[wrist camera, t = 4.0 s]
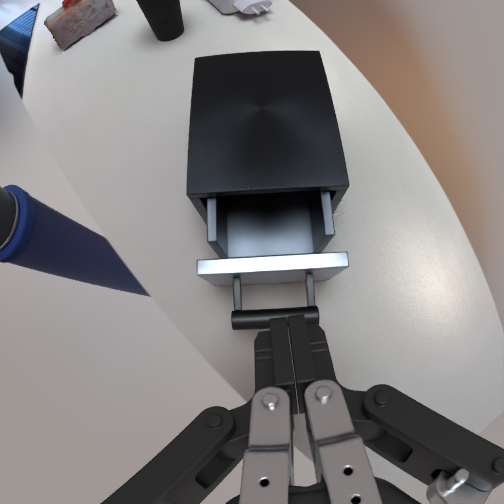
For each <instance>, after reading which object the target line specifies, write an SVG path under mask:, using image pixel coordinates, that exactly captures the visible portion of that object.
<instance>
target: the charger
mask: <svg viewBox="0 0 504 504" xmlns="http://www.w3.org/2000/svg"><path fill="white" fill-rule="evenodd" d="M209 1H210V2H211V3H212V4H213V5H214V6H215V7H217V8H218V9H219V10H220V11H221V12H222V13H225V14H227V13H234V12H237V11H241V12H242V13H244V14H254V13H256V14H260V12H261V11H264V10H265V11H267V12H269V9H267V8H268V7H270V6H271V4H272V3H271V2H270V1H268V0H209Z"/></svg>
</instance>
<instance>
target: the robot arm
mask: <svg viewBox="0 0 504 504" xmlns="http://www.w3.org/2000/svg"><path fill="white" fill-rule="evenodd" d="M19 219H20V203H19V200H18V198H17V196H16V195H15V194H14V193H12V192H10V191H7V190H5V189H4V188H2V187H0V251H1V250H3V249H4V248H5V247H7V246H8V244H9V243H10V242H11V240H12V239H13V237H14V235H15V233H16V230H17V227H18V224H19ZM287 317H288V326H289V335H290V342H289V335H288V327H287V320H286V317H278V318H271V319H270V331H263V332H259V333H258V335H257V337H256V339H255V341H254V351H255V393H254V395H253V397H252V398H251V400H250V401H249V402H247V403H246V404H244V405H243V406H240V407H237V408H235V409H232V410H227V409H226V408H224V407H219V406H214V407H210V408H207V409H205V410H204V411H202V412H201V413H200V414H199V415H198V416H197V417H196V418H195V419H194V420H193V421H192V422H191V423H190V424H189V425H188V426H187V427H186V428H185V429H184V430H183V431H182V432H181V433H180V434H179V435H178V436H177V437H176V438H174V439H173V440H172V441H171V442H170V443H169V444H168V445H167V446H166V447H165V448H164V449H163V450H162V451H161V452H159V453H158V454H157V456H155V457H154V458H153V459H152V460H151V461H150V462H149V463H147V464H146V465H145V466H144V467H143V468H142V469H141V470H140V471H138V472H137V473H136V474H135V475H134V476H133V477H132V478H130V479H129V480H128V481H127V482H126V483H125V484H123V485H122V486H121V487H120V488H119V489H118V490H116V491H115V492H114V493H113V494H112V495H110V496H109V497H108V498H107V499H106V500H104V501H103V502H102V503H101V504H200V503H201V502H202V501H203V500H204V499H205V498H206V497H207V496H208V495H209V494H210V493H211V492H212V491H213V490H214V489H215V488H216V486H218V485H219V483H221V481H222V480H223V479H224V478H225V477H226V476H227V475H228V474H229V473H230V472H231V471H232V470H233V469H234V467H235V466H236V465H237V464H238V463H239V462H240V461H241V460H242V459H243V468H242V479H241V489H240V495H238V496H236V497H234V498H232V499H231V500H229V501H228V502H227V503H226V504H421V503H419V502H418V501H416V500H415V499H413V498H411V497H410V496H409V495H407V494H406V493H404V492H403V491H402V490H400V489H399V488H397V487H396V486H394V485H393V484H391V483H390V482H388V481H386V480H383V479H381V478H377V477H374V475H373V472H372V468H371V465H370V462H369V459H368V456H367V453H366V450H365V446H367V447H368V448H370V449H371V450H373V451H374V452H376V453H377V454H379V455H380V456H382V457H383V458H385V459H386V460H388V461H389V462H391V463H392V464H394V465H395V466H397V467H399V468H400V469H402V470H403V471H405V472H406V473H408V474H410V475H411V476H413V477H414V478H416V479H418V480H420V481H421V482H423V483H425V484H426V485H428V488H427V493H426V495H427V499H428V501H429V502H430V503H431V504H484V503H485V501H486V500H487V498H488V496H489V495H490V493H491V491H492V490H493V489H494V488H496V487H497V486H499V485H500V484H502V483H503V482H504V449H503V448H501V447H499V446H497V445H495V444H493V443H491V442H489V441H488V440H486V439H484V438H482V437H480V436H478V435H476V434H475V433H473V432H471V431H469V430H467V429H465V428H464V427H462V426H460V425H458V424H456V423H454V422H453V421H451V420H449V419H447V418H445V417H444V416H442V415H440V414H438V413H437V412H435V411H433V410H431V409H430V408H428V407H426V406H424V405H423V404H421V403H419V402H417V401H416V400H414V399H412V398H410V397H409V396H407V395H405V394H404V393H402V392H400V391H398V390H397V389H395V388H393V387H392V386H389V385H385V384H380V385H375V386H373V387H371V388H370V389H368V390H367V392H365V391H354V390H349V389H346V388H344V387H343V386H342V385H340V384H339V382H338V381H337V379H336V376H335V372H334V368H333V364H332V360H331V356H330V352H329V348H328V344H327V340H326V336H325V332H324V331H323V329H322V328H321V327H320V326H319V325H318V324H313V325H306V321H305V316H304V314H299V315H292V316H287ZM290 344H291V349H290ZM291 352H292V357H291ZM292 359H293V364H292ZM293 367H294V372H293ZM294 374H295V380H294ZM295 382H296V389H295ZM296 390H297V397H298V405H299V413H300V414H302V413H305V420H306V431H307V435H308V440H309V444H310V449H311V453H312V458H313V462H314V467H315V474H316V479H317V483H316V484H314V485H311V486H308V487H302V486H294V435H293V431H294V417H293V415H295V414H298V409H297V399H296ZM364 445H365V446H364Z"/></svg>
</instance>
